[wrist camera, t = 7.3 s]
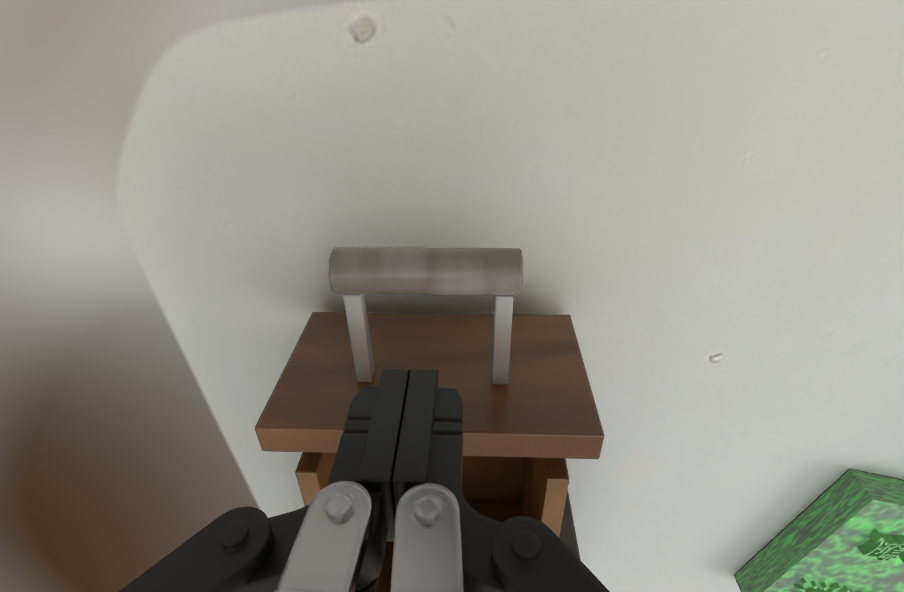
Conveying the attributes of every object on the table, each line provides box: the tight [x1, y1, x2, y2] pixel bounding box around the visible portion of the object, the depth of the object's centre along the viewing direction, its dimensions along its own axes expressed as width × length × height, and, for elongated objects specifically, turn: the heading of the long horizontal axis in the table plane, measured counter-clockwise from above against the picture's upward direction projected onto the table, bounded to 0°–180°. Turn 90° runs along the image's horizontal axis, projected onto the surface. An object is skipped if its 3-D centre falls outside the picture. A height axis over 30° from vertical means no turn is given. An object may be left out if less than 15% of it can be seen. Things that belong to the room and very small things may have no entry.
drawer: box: [255, 247, 604, 581], centre depth 21 cm, size 18×12×7 cm, turn 1°
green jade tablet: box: [734, 469, 904, 592], centre depth 30 cm, size 11×12×2 cm
